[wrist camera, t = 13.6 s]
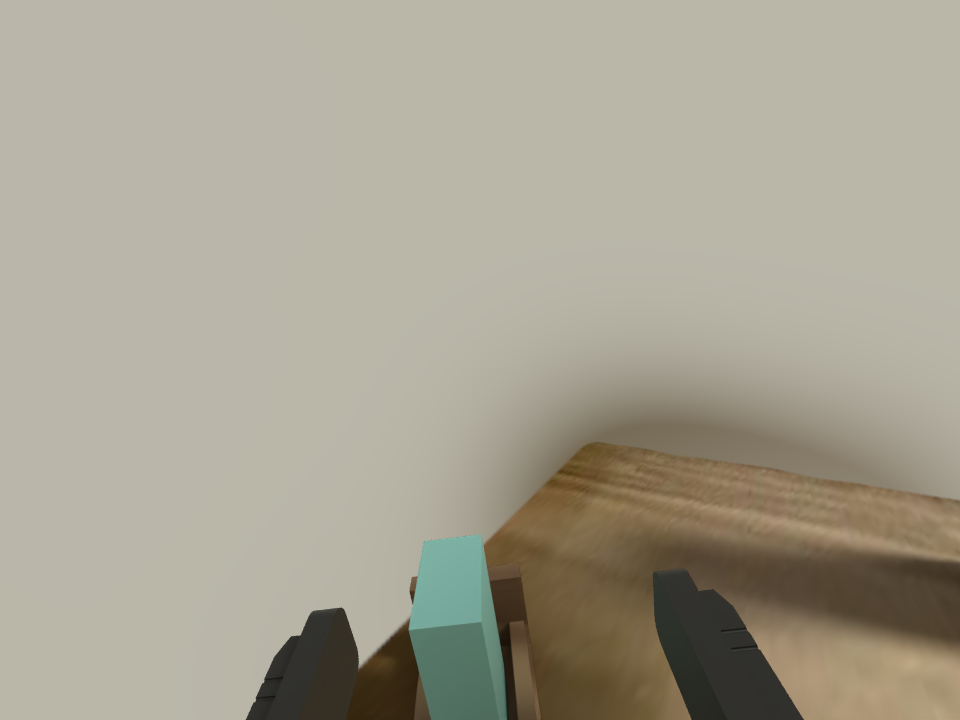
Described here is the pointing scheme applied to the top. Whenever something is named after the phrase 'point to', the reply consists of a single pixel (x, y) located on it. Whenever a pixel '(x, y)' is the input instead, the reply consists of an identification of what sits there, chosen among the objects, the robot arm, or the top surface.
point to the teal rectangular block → (458, 633)
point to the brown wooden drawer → (505, 645)
